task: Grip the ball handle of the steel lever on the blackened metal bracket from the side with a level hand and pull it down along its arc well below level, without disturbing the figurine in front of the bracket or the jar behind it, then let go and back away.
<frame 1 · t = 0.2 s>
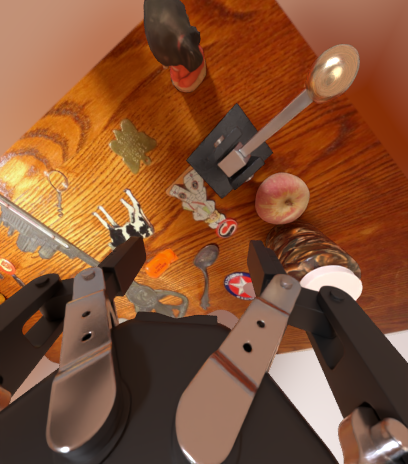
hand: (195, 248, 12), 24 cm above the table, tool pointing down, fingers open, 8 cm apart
jar: (290, 241, 38), on the table
bracket: (228, 156, 30), on the table
lever: (271, 127, 16), point 15 cm above the table, hinge at 30.0°
apple: (272, 193, 33), on the table
figurine: (189, 72, 26), on the table
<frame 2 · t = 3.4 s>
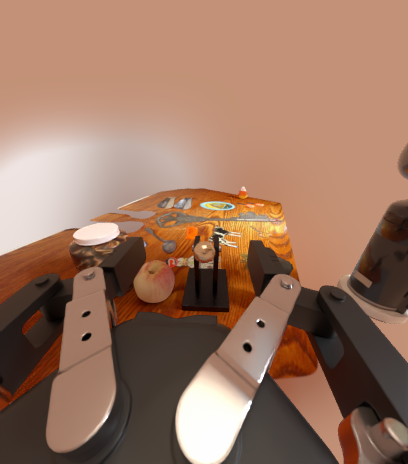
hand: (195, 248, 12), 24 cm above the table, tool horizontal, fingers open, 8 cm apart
candy corn: (242, 198, 111), on the table
jar: (114, 282, 42), on the table
bracket: (206, 289, 40), on the table
lever: (205, 250, 29), point 15 cm above the table, hinge at 30.0°
apple: (157, 294, 38), on the table
figurine: (266, 304, 36), on the table
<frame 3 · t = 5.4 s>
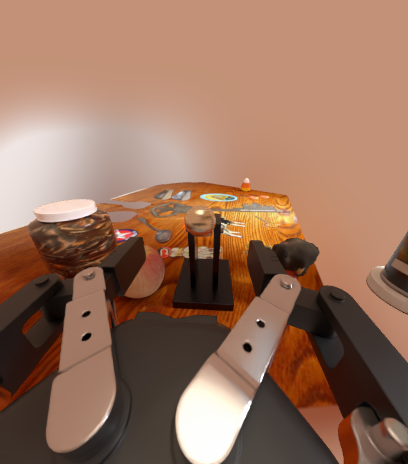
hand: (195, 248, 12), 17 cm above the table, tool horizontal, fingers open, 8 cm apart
candy corn: (245, 191, 104), on the table
jar: (93, 273, 35), on the table
bracket: (204, 283, 32), on the table
lever: (203, 225, 22), point 15 cm above the table, hinge at 30.0°
apple: (143, 288, 31), on the table
figurine: (280, 302, 28), on the table
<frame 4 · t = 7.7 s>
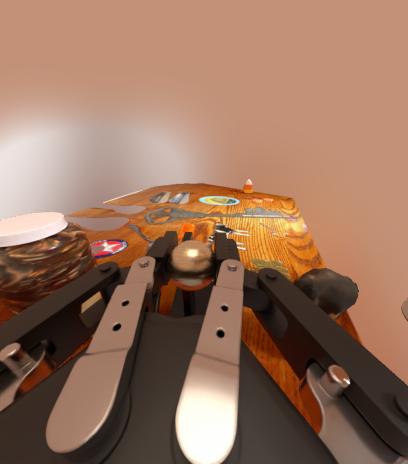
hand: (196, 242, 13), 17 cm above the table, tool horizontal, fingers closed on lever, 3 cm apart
candy corn: (247, 193, 97), on the table
jar: (68, 300, 29), on the table
bracket: (203, 314, 26), on the table
lever: (198, 257, 15), point 15 cm above the table, hinge at 30.0°, touching gripper
figurine: (299, 344, 22), on the table
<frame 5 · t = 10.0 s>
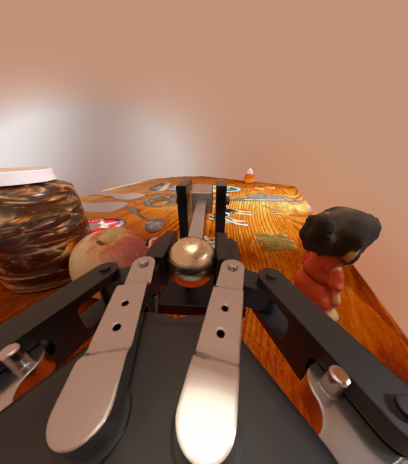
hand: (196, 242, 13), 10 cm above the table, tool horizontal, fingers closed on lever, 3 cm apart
candy corn: (248, 183, 96), on the table
jar: (59, 268, 27), on the table
bracket: (203, 278, 24), on the table
lever: (198, 221, 14), point 11 cm above the table, hinge at -8.6°, touching gripper
apple: (120, 287, 23), on the table
figurine: (310, 304, 20), on the table
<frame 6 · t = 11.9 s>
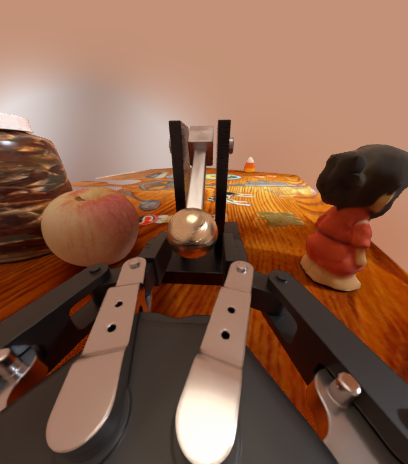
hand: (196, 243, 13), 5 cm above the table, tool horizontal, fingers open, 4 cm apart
candy corn: (248, 172, 93), on the table
jar: (39, 241, 24), on the table
bracket: (202, 250, 21), on the table
lever: (197, 181, 13), point 9 cm above the table, hinge at -30.0°
apple: (107, 258, 20), on the table
figurine: (325, 273, 17), on the table
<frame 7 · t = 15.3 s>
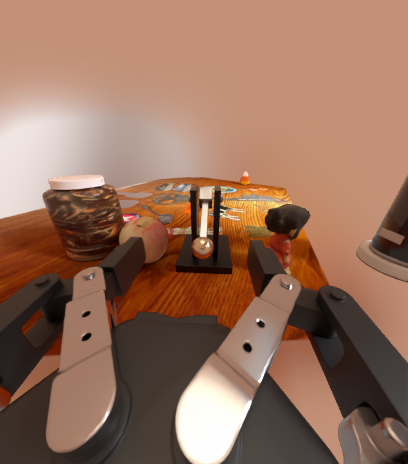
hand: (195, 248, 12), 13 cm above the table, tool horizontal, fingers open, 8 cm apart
candy corn: (244, 184, 106), on the table
jar: (100, 247, 37), on the table
bracket: (205, 254, 34), on the table
lever: (204, 220, 26), point 9 cm above the table, hinge at -30.0°
apple: (148, 258, 33), on the table
figurine: (275, 268, 30), on the table
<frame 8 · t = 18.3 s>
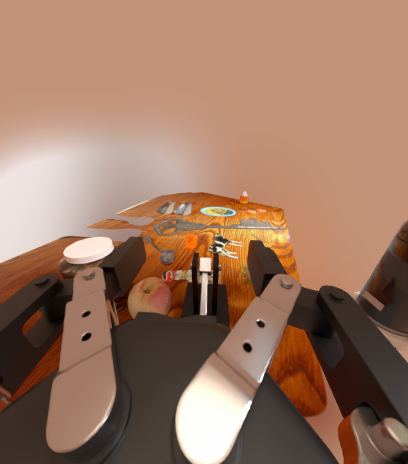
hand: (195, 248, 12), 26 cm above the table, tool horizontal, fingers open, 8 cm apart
candy corn: (243, 203, 109), on the table
jar: (109, 298, 40), on the table
bracket: (205, 307, 37), on the table
lever: (204, 293, 29), point 9 cm above the table, hinge at -30.0°
apple: (153, 313, 36), on the table
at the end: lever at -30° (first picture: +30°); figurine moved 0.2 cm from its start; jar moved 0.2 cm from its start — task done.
